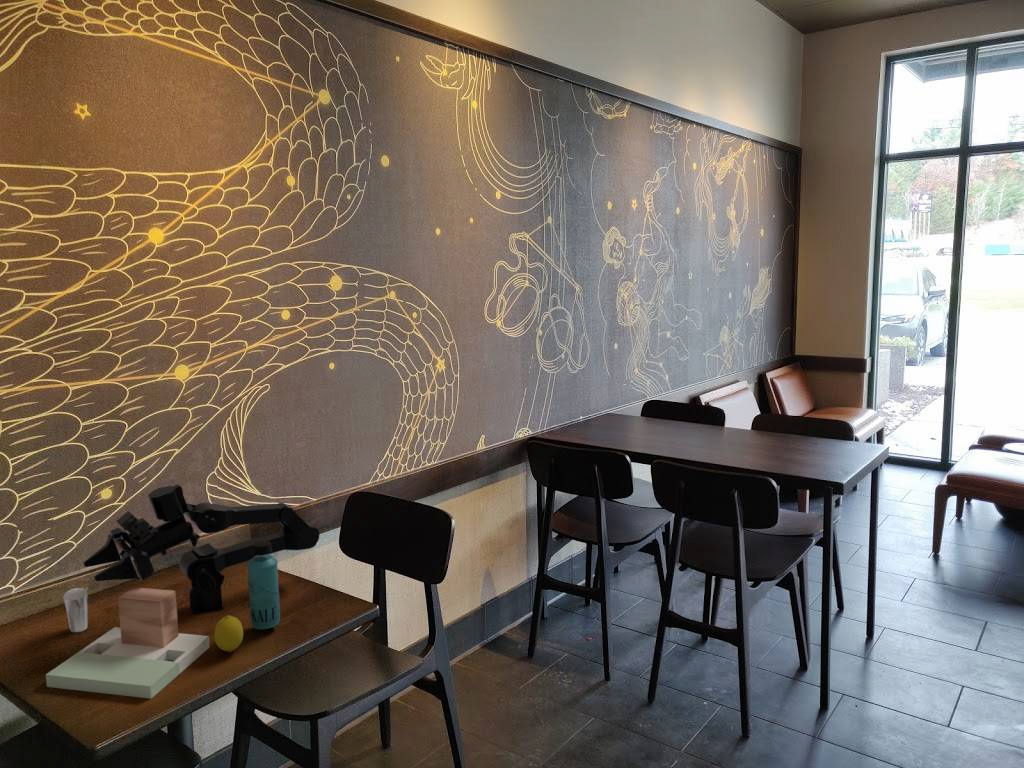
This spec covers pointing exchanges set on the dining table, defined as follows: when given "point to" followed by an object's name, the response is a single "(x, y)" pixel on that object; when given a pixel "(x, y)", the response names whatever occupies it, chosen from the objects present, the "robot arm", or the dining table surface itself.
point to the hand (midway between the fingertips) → (89, 571)
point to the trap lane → (126, 665)
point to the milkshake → (76, 609)
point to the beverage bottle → (263, 587)
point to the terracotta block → (148, 617)
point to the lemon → (228, 633)
